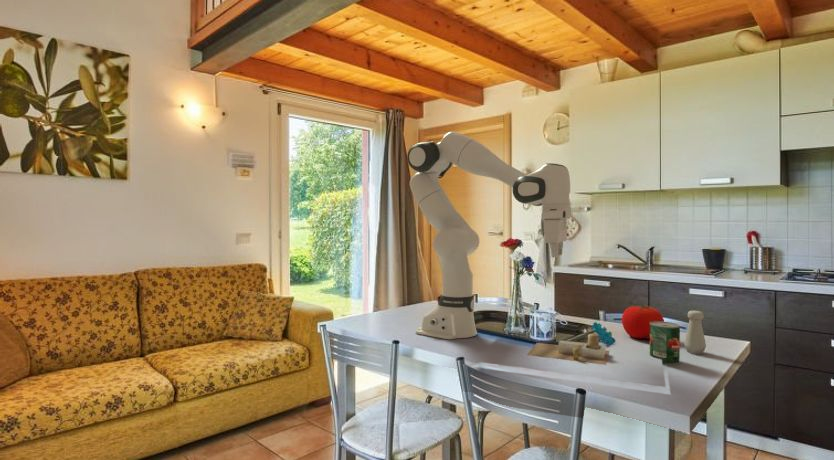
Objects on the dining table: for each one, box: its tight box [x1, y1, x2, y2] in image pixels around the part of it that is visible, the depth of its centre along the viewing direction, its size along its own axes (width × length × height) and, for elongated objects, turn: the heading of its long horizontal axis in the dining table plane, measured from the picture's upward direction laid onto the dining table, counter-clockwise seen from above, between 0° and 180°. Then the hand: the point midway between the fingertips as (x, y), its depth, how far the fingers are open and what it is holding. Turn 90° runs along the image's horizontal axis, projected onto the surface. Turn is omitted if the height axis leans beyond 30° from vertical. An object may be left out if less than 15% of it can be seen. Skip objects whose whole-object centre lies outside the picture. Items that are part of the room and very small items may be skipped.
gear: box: [591, 321, 616, 346], centre depth 156 cm, size 11×6×10 cm
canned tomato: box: [649, 321, 681, 366], centre depth 139 cm, size 8×8×11 cm
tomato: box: [621, 304, 665, 340], centre depth 166 cm, size 13×14×12 cm
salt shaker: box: [684, 310, 707, 355], centre depth 147 cm, size 6×6×13 cm
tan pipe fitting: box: [558, 340, 607, 359], centre depth 141 cm, size 13×6×3 cm, turn 64°
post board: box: [526, 333, 610, 365], centre depth 142 cm, size 22×15×8 cm
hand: (557, 256), depth 153 cm, fingers open, 7 cm apart
